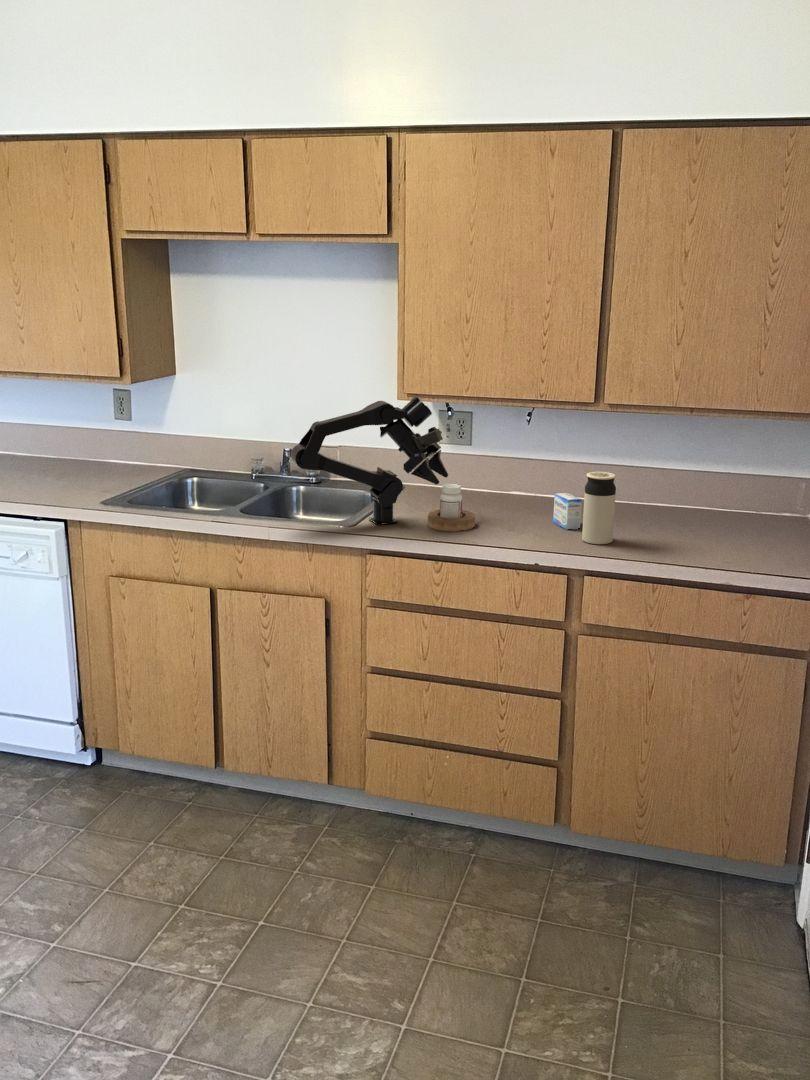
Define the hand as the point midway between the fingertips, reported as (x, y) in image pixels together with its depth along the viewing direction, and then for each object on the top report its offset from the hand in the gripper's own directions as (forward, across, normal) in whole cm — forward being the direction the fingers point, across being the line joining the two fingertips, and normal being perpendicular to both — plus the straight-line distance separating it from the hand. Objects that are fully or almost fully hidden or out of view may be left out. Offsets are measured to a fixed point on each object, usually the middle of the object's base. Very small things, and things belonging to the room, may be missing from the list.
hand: (442, 480), depth 278 cm
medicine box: (+33, +10, -14) cm, 37 cm away
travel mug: (+40, -3, -22) cm, 46 cm away
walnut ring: (+11, 0, +7) cm, 13 cm away
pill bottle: (+11, 0, +7) cm, 13 cm away
